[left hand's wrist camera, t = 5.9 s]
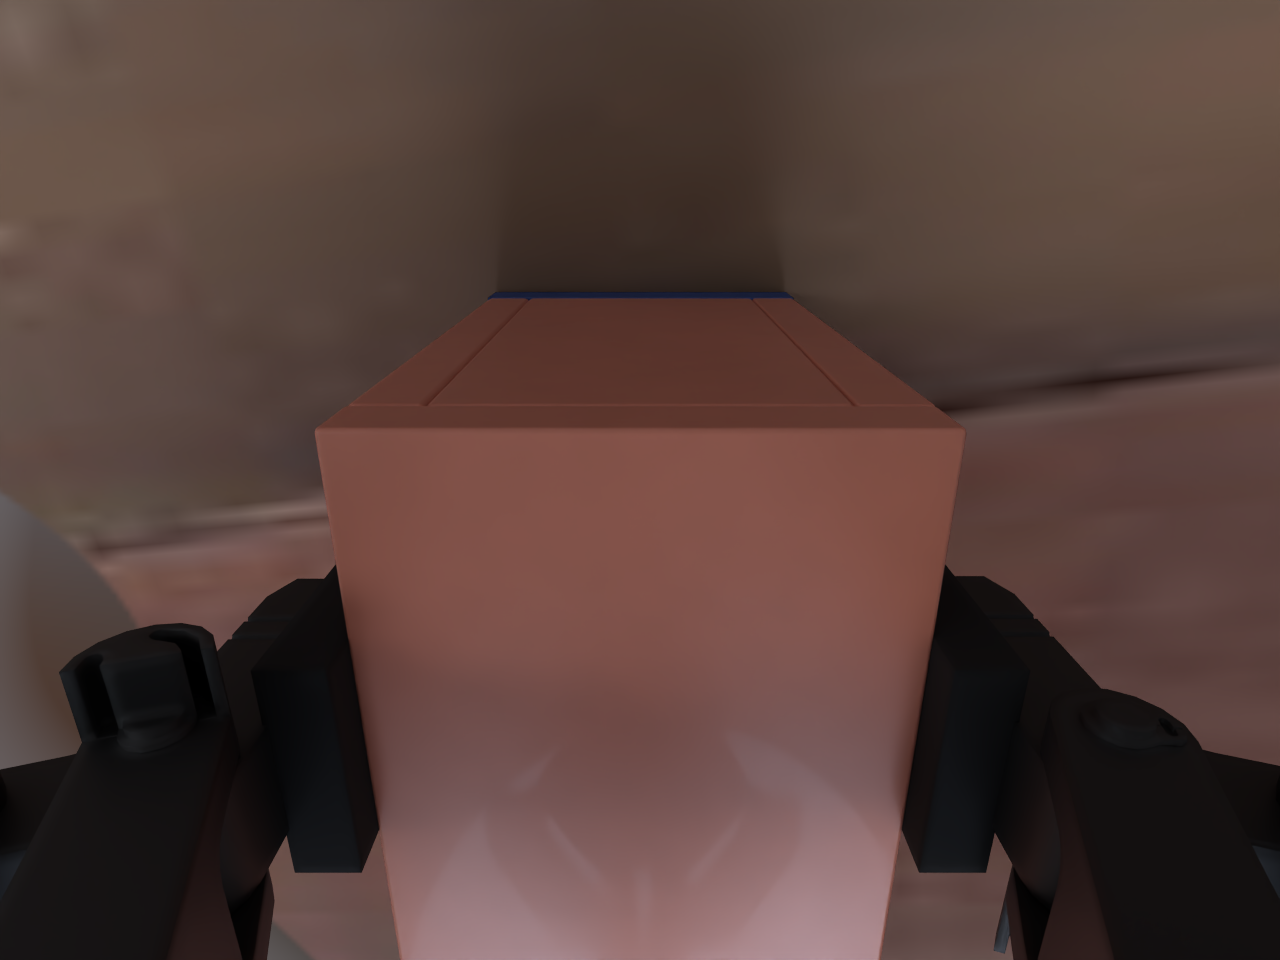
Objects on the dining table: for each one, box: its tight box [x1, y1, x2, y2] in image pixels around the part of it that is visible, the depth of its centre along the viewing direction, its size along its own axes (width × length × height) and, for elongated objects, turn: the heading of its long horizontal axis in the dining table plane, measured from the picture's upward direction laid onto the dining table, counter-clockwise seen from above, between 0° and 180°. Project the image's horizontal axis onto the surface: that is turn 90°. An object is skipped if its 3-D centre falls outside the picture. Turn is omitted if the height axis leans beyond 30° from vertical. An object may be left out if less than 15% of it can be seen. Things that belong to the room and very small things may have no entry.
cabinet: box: [315, 292, 966, 960], centre depth 15 cm, size 16×6×10 cm, turn 0°
